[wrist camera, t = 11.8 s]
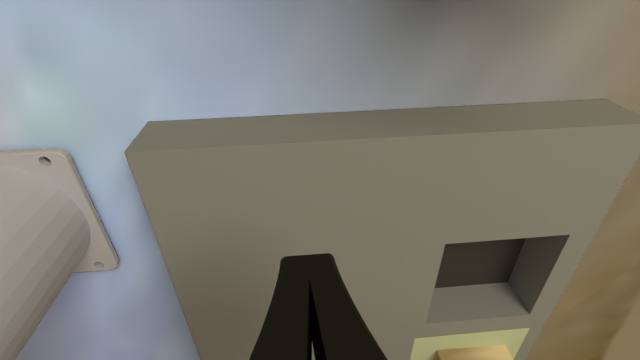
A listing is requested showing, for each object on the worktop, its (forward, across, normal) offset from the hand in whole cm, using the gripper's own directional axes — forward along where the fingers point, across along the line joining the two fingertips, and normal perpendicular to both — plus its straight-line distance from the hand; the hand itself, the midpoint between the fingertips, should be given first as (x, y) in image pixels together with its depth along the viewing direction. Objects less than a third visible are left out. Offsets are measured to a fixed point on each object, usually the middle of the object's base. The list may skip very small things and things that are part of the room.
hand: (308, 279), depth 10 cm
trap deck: (+9, -4, +15) cm, 18 cm away
